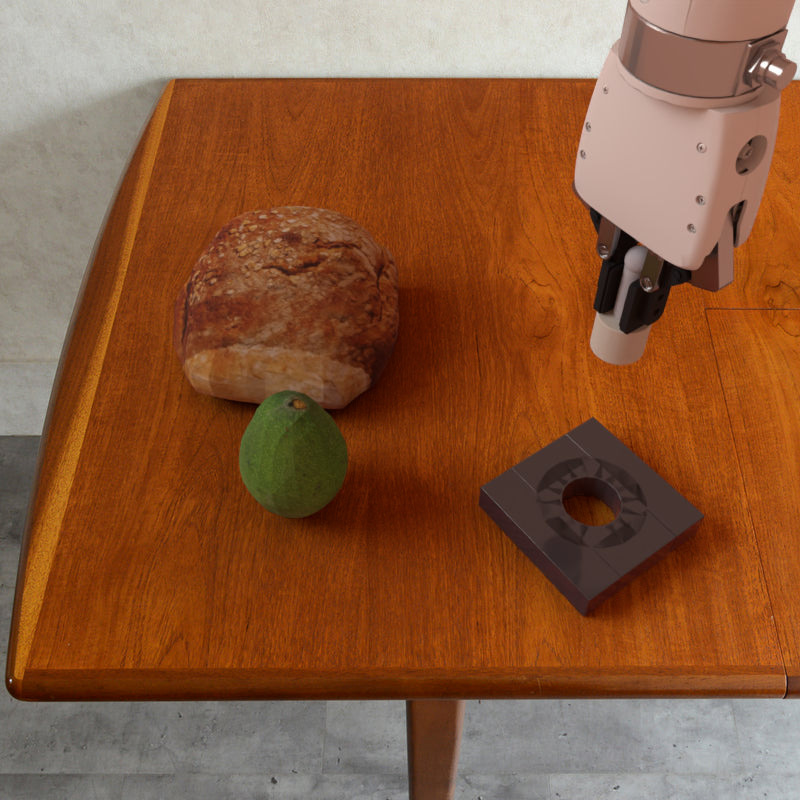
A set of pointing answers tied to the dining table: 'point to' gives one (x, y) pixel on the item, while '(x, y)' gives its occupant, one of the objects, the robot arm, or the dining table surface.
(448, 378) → the dining table surface
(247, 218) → the bread
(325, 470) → the fruit
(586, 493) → the sink plate
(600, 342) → the stopper
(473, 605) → the dining table surface
